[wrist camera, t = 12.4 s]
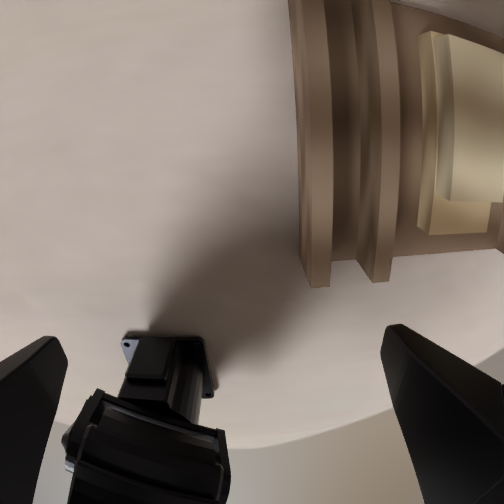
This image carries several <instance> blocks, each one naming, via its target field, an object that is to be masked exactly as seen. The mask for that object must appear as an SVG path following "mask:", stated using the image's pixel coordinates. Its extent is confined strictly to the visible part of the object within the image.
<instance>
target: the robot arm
mask: <svg viewBox="0 0 504 504" xmlns="http://www.w3.org/2000/svg"><path fill="white" fill-rule="evenodd" d="M126 342H128V343H129V344H127V343H126ZM195 343H199V344H195ZM121 346H122V349H123V351H124V354H125V357H126V359H127V362H128V364H129V366H128V368H127V371H126V373H125V379H124V381H123V384H122V386H121V389H120V391H119V394H118V397H114V396H112V395H109V394H107V393H105V391H103V390H101V389H98V388H97V389H96V391H95V393H94V394H93V396H90V397H89V399H88V400H86V402H85V404H84V406H83V408H82V411H81V412H80V414H79V416H78V417H77V419H76V421H75V422H74V423H73V424H72V425H71V426H70V428H69V429H68V430H67V431H66V432H65V433H64V435H63V437H62V441H61V443H62V445H63V447H64V449H65V451H66V452H65V469H66V471H69V472H71V473H73V477H72V482H71V486H70V492H69V496H68V502H67V504H226V501H227V498H228V494H229V490H230V483H231V471H230V464H229V457H228V451H227V444H226V437H225V431H224V430H221V429H217V428H216V429H212V428H208V427H204V426H201V425H198V421H199V413H200V405H201V398H213V397H214V387H213V382H212V377H211V372H210V368H209V363H208V358H207V352H206V347H205V342H204V340H203V339H202V338H201V337H197V336H194V337H134V336H125V337H123V339H122V341H121ZM380 354H381V360H382V364H383V368H384V372H385V376H386V380H387V384H388V388H389V392H390V396H391V400H392V404H393V407H394V410H395V413H396V416H397V419H398V421H399V424H400V427H401V430H402V433H403V436H404V439H405V442H406V445H407V448H408V451H409V454H410V457H411V460H412V463H413V466H414V469H415V472H416V476H417V479H418V482H419V486H420V489H421V492H422V496H423V499H424V503H425V504H504V384H502V385H501V383H500V382H499V381H497V380H496V379H494V378H492V377H491V376H489V375H487V374H486V373H484V372H482V371H481V370H479V369H477V368H476V367H474V366H472V365H471V364H469V363H467V362H466V361H464V360H462V359H461V358H459V357H457V356H455V355H454V354H452V353H450V352H449V351H447V350H445V349H444V348H442V347H440V346H439V345H437V344H435V343H434V342H432V341H430V340H428V339H427V338H425V337H423V336H422V335H420V334H418V333H417V332H415V331H413V330H411V329H410V328H408V327H406V326H405V325H403V324H395V325H389V326H387V327H386V329H385V333H384V337H383V342H382V346H381V352H380ZM67 367H68V360H67V357H66V355H65V353H64V351H63V348H62V346H61V344H60V342H59V340H58V339H57V338H56V337H54V336H43V337H41V338H40V339H38V340H36V341H34V342H33V343H31V344H29V345H28V346H26V347H24V348H23V349H21V350H19V351H18V352H16V353H14V354H13V355H11V356H9V357H8V358H6V359H4V360H3V361H1V362H0V504H32V503H33V497H34V493H35V488H36V483H37V479H38V475H39V471H40V467H41V463H42V459H43V455H44V452H45V448H46V444H47V441H48V437H49V434H50V431H51V427H52V424H53V421H54V418H55V415H56V411H57V408H58V404H59V399H60V395H61V391H62V386H63V382H64V378H65V374H66V370H67Z"/></svg>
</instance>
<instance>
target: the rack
mask: <svg viewBox="0 0 504 504" xmlns="http://www.w3.org/2000/svg"><path fill="white" fill-rule="evenodd" d="M288 6H289V16H290V27H291V40H292V53H293V67H294V82H295V99H296V119H297V143H298V175H299V256H300V259H301V262H302V265H303V267H304V270H305V273H306V276H307V279H308V281H309V284H310V287H311V288H318V287H330V273H331V261H338V260H353V259H356V260H357V261H358V263H359V264H360V266H361V267H362V269H363V270H364V271H365V273H366V274H367V276H368V277H369V279H370V280H371V282H372V283H376V282H387V281H389V277H390V270H391V263H392V257H395V256H408V255H421V254H434V253H446V252H459V251H471V250H483V249H494V248H496V249H497V250H499V251H500V252H502V253H503V254H504V196H503V203H501V202H491V207H490V214H489V221H488V227H487V232H484V233H462V234H441V235H428V234H427V233H426V232H424V231H423V230H422V229H420V228H419V227H417V220H418V211H419V200H420V188H421V172H422V146H423V109H422V84H421V69H420V57H419V47H418V38H417V36H418V35H421V34H423V33H426V32H428V31H433V32H437V33H441V34H444V35H447V34H450V35H453V36H456V37H459V38H462V39H465V40H468V41H471V42H474V43H477V44H480V45H482V46H485V47H487V48H490V49H493V50H495V51H498V52H500V53H502V54H504V39H502V38H500V37H498V36H495V35H493V34H491V33H488V32H486V31H483V30H481V29H478V28H476V27H473V26H471V25H468V24H465V23H462V22H460V21H457V20H454V19H451V18H448V17H444V16H441V15H438V14H435V13H431V12H428V11H424V10H420V9H416V8H413V7H408V6H404V5H400V4H395V3H390V0H288Z"/></svg>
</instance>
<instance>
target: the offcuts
mask: <svg viewBox="0 0 504 504" xmlns="http://www.w3.org/2000/svg"><path fill="white" fill-rule="evenodd" d="M417 38H418V47H419V57H420V69H421V84H422V109H423V146H422V172H421V188H420V200H419V211H418V220H417V227H419V228H420V229H422V230H423V231H424V232H426V233H427V234H428V235H441V234H462V233H484V232H487V227H488V221H489V214H490V207H491V202H501V203H503V196H504V54H502V53H500V52H498V51H495V50H493V49H490V48H487V47H485V46H482V45H480V44H477V43H474V42H471V41H468V40H465V39H462V38H459V37H456V36H453V35H450V34H447V35H444V34H441V33H437V32H433V31H428V32H426V33H423V34H421V35H418V36H417Z"/></svg>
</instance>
